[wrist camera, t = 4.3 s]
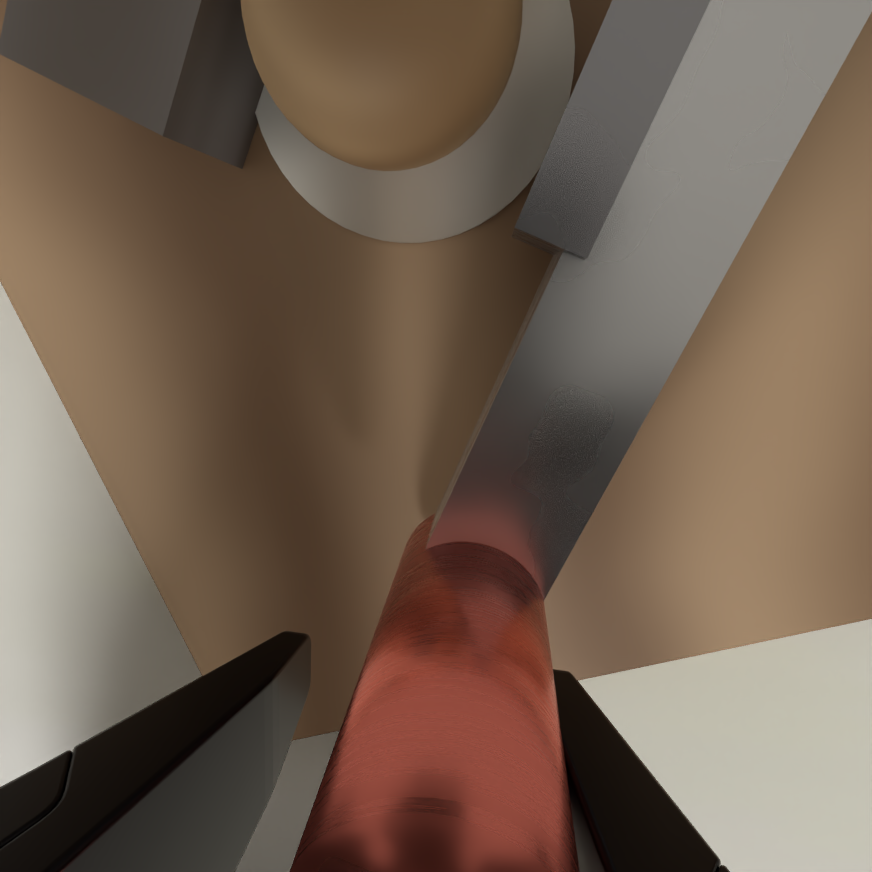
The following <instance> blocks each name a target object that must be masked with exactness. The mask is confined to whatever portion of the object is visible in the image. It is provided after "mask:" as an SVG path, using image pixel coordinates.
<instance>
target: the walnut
mask: <svg viewBox="0 0 872 872" xmlns="http://www.w3.org/2000/svg"><path fill="white" fill-rule="evenodd" d="M522 9H523V0H241V10H242V17H243V22H244V27H245V32H246V37H247V41H248V45H249V48H250V51H251V54H252V57H253V61H254V63H255V66H256V68H257V70H258V72H259V75H260V77H261V79H262V81H263V83H264V85H265V87H266V89H267V90H268V92H269V94H270V95H271V97H272V99H273V100H274V102H275V104H276V105H277V107H278V108H279V109H280V111H281V112H282V113H283V115H284V116H285V117H286V119H287V120H288V121H289V122H290V123H291V124H292V125H293V126H294V127H295V128H296V129H297V130H298V131H299V132H300V133H301V134H302V135H303V136H304V137H305V138H306V139H308V140H309V141H310V142H311V143H313V144H314V145H315V146H316V147H318V148H319V149H321V150H322V151H324V152H326V153H327V154H329V155H331V156H333V157H335V158H337V159H339V160H341V161H344V162H346V163H349V164H351V165H354V166H357V167H361V168H365V169H369V170H378V171H401V170H407V169H412V168H417V167H421V166H424V165H427V164H430V163H433V162H435V161H437V160H439V159H441V158H443V157H445V156H447V155H448V154H450V153H451V152H453V151H454V150H456V149H457V148H459V147H460V146H461V145H462V144H464V143H465V142H466V141H467V140H468V139H469V138H470V137H471V136H473V135H474V134H475V132H476V131H477V130H478V129H479V128H480V127H481V126H482V124H483V123H484V122H485V121H486V120H487V118H488V117H489V115H490V114H491V112H492V111H493V110H494V108H495V107H496V105H497V103H498V101H499V99H500V98H501V96H502V94H503V92H504V90H505V88H506V85H507V83H508V80H509V77H510V75H511V72H512V70H513V66H514V62H515V58H516V54H517V50H518V46H519V41H520V34H521V27H522Z"/></svg>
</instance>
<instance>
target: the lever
mask: <svg viewBox="0 0 872 872" xmlns="http://www.w3.org/2000/svg"><path fill="white" fill-rule="evenodd" d="M871 12H872V0H612V2H611V4H610V7H609V9H608V11H607V14H606V16H605V18H604V21H603V23H602V25H601V28H600V30H599V32H598V35H597V37H596V39H595V42H594V44H593V46H592V48H591V51H590V53H589V55H588V58H587V60H586V62H585V65H584V67H583V69H582V72H581V74H580V76H579V79H578V81H577V83H576V86H575V88H574V90H573V93H572V95H571V97H570V100H569V102H568V104H567V106H566V109H565V111H564V113H563V116H562V118H561V120H560V123H559V125H558V127H557V130H556V132H555V134H554V137H553V139H552V141H551V144H550V146H549V148H548V151H547V153H546V155H545V158H544V160H543V162H542V164H541V167H540V169H539V171H538V174H537V176H536V178H535V181H534V183H533V185H532V188H531V190H530V192H529V195H528V197H527V199H526V202H525V204H524V206H523V209H522V211H521V213H520V216H519V218H518V220H517V222H516V225H515V227H514V231H513V234H512V237H513V238H515V239H517V240H520V241H522V242H524V243H527V244H529V245H531V246H533V247H536V248H538V249H540V250H543V251H545V252H547V253H549V254H552V255H553V257H552V260H551V262H550V264H549V266H548V268H547V270H546V273H545V275H544V277H543V279H542V281H541V284H540V286H539V288H538V290H537V292H536V294H535V297H534V299H533V301H532V303H531V305H530V307H529V310H528V312H527V314H526V316H525V318H524V321H523V323H522V325H521V327H520V329H519V331H518V334H517V336H516V338H515V340H514V342H513V345H512V347H511V349H510V351H509V353H508V355H507V358H506V360H505V362H504V364H503V366H502V369H501V371H500V373H499V375H498V377H497V379H496V382H495V384H494V386H493V388H492V390H491V393H490V395H489V397H488V399H487V401H486V403H485V406H484V408H483V410H482V412H481V414H480V417H479V419H478V421H477V423H476V425H475V427H474V430H473V432H472V434H471V436H470V438H469V441H468V443H467V445H466V447H465V449H464V451H463V454H462V456H461V458H460V460H459V462H458V465H457V467H456V469H455V471H454V473H453V475H452V478H451V480H450V482H449V484H448V486H447V489H446V491H445V493H444V495H443V497H442V499H441V502H440V504H439V506H438V508H437V510H436V513H435V514H433V515H431V516H429V517H428V518H427V519H425V520H424V521H423V522H421V523H420V524H419V525H418V526H417V527H416V528H415V530H414V531H413V533H412V534H411V535H410V537H409V539H408V541H407V543H406V546H405V549H404V551H403V554H402V557H401V560H400V563H399V565H398V568H397V571H396V574H395V577H394V579H393V582H392V585H391V588H390V591H389V594H388V596H387V599H386V602H385V605H384V608H383V610H382V613H381V616H380V619H379V622H378V625H377V627H376V630H375V633H374V636H373V639H372V641H371V644H370V647H369V650H368V653H367V656H366V658H365V661H364V664H363V667H362V670H361V672H360V675H359V678H358V681H357V684H356V686H355V689H354V692H353V695H352V698H351V701H350V703H349V706H348V709H347V712H346V715H345V717H344V720H343V723H342V726H341V729H340V732H339V734H338V737H337V740H336V743H335V746H334V748H333V751H332V754H331V757H330V760H329V762H328V765H327V768H326V771H325V774H324V777H323V779H322V782H321V785H320V788H319V791H318V793H317V796H316V799H315V802H314V805H313V808H312V810H311V813H310V816H309V819H308V822H307V824H306V827H305V830H304V833H303V836H302V838H301V841H300V844H299V847H298V850H297V853H296V855H295V858H294V861H293V864H292V867H291V869H290V872H580V870H579V863H578V855H577V848H576V840H575V832H574V825H573V817H572V810H571V802H570V795H569V787H568V780H567V772H566V764H565V757H564V749H563V742H562V734H561V727H560V719H559V712H558V704H557V696H556V689H555V681H554V674H553V666H552V659H551V651H550V643H549V636H548V628H547V621H546V613H545V606H544V600H545V598H546V596H547V594H548V592H549V591H550V589H551V587H552V585H553V583H554V582H555V580H556V578H557V576H558V574H559V573H560V571H561V569H562V567H563V565H564V564H565V562H566V560H567V558H568V557H569V555H570V553H571V551H572V549H573V548H574V546H575V544H576V542H577V540H578V539H579V537H580V535H581V533H582V531H583V530H584V528H585V526H586V524H587V522H588V521H589V519H590V517H591V515H592V513H593V512H594V510H595V508H596V506H597V504H598V503H599V501H600V499H601V497H602V495H603V494H604V492H605V490H606V488H607V486H608V485H609V483H610V481H611V479H612V477H613V476H614V474H615V472H616V470H617V468H618V467H619V465H620V463H621V461H622V459H623V458H624V456H625V454H626V452H627V451H628V449H629V447H630V445H631V443H632V442H633V440H634V438H635V436H636V434H637V433H638V431H639V429H640V427H641V425H642V424H643V422H644V420H645V418H646V416H647V415H648V413H649V411H650V409H651V407H652V406H653V404H654V402H655V400H656V398H657V397H658V395H659V393H660V391H661V389H662V388H663V386H664V384H665V382H666V380H667V379H668V377H669V375H670V373H671V371H672V370H673V368H674V366H675V364H676V362H677V361H678V359H679V357H680V355H681V354H682V352H683V350H684V348H685V346H686V345H687V343H688V341H689V339H690V337H691V336H692V334H693V332H694V330H695V328H696V327H697V325H698V323H699V321H700V319H701V318H702V316H703V314H704V312H705V310H706V309H707V307H708V305H709V303H710V301H711V300H712V298H713V296H714V294H715V292H716V291H717V289H718V287H719V285H720V283H721V282H722V280H723V278H724V276H725V274H726V273H727V271H728V269H729V267H730V265H731V264H732V262H733V260H734V258H735V256H736V255H737V253H738V251H739V249H740V248H741V246H742V244H743V242H744V240H745V239H746V237H747V235H748V233H749V231H750V230H751V228H752V226H753V224H754V222H755V221H756V219H757V217H758V215H759V213H760V212H761V210H762V208H763V206H764V204H765V203H766V201H767V199H768V197H769V195H770V194H771V192H772V190H773V188H774V186H775V185H776V183H777V181H778V179H779V177H780V176H781V174H782V172H783V170H784V168H785V167H786V165H787V163H788V161H789V159H790V158H791V156H792V154H793V152H794V150H795V149H796V147H797V145H798V143H799V142H800V140H801V138H802V136H803V134H804V133H805V131H806V129H807V127H808V125H809V124H810V122H811V120H812V118H813V116H814V115H815V113H816V111H817V109H818V107H819V106H820V104H821V102H822V100H823V98H824V97H825V95H826V93H827V91H828V89H829V88H830V86H831V84H832V82H833V80H834V79H835V77H836V75H837V73H838V71H839V70H840V68H841V66H842V64H843V62H844V61H845V59H846V57H847V55H848V53H849V52H850V50H851V48H852V46H853V45H854V43H855V41H856V39H857V37H858V36H859V34H860V32H861V30H862V28H863V27H864V25H865V23H866V21H867V19H868V18H869V16H870V14H871Z"/></svg>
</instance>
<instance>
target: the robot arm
mask: <svg viewBox="0 0 872 872" xmlns="http://www.w3.org/2000/svg"><path fill="white" fill-rule="evenodd" d="M553 674H554V681H555V689H556V696H557V704H558V712H559V719H560V727H561V734H562V742H563V749H564V757H565V764H566V772H567V780H568V787H569V795H570V802H571V810H572V817H573V825H574V832H575V840H576V848H577V855H578V863H579V870H580V872H730V871H729V870H728V869H727V867H726V866H724V865H721V861H720V859H719V858H718V856H717V855H716V854H715V853H714V851H713V850H712V849H711V848H710V846H709V845H708V844H707V843H706V841H705V840H704V839H703V838H702V836H701V835H700V834H699V833H698V831H697V830H696V829H695V828H694V826H693V825H692V824H691V823H690V821H689V820H688V819H687V818H686V816H685V815H684V814H683V813H682V811H681V810H680V809H679V807H678V806H677V805H676V804H675V802H674V801H673V800H672V799H671V797H670V796H669V795H668V794H667V792H666V791H665V790H664V789H663V787H662V786H661V785H660V784H659V782H658V781H657V780H656V779H655V777H654V776H653V775H652V774H651V772H650V771H649V770H648V769H647V767H646V766H645V765H644V764H643V762H642V761H641V760H640V759H639V757H638V756H637V755H636V754H635V752H634V751H633V750H632V749H631V747H630V746H629V745H628V744H627V742H626V741H625V740H624V738H623V737H622V736H621V735H620V733H619V732H618V731H617V730H616V728H615V727H614V726H613V725H612V723H611V722H610V721H609V720H608V718H607V717H606V716H605V715H604V713H603V712H602V711H601V710H600V708H599V707H598V706H597V705H596V703H595V702H594V701H593V700H592V698H591V697H590V696H589V695H588V693H587V692H586V691H585V690H584V688H583V687H582V686H581V685H580V683H579V682H578V681H577V680H576V678H575V677H574V676H573V675H572V674H571V673H570V672H569V671H564V670H557V669H553ZM310 681H311V639H310V636H309V635H308V634H306V633H299V632H292V631H283V632H281V633H279V634H277V635H276V636H274V637H272V638H270V639H268V640H267V641H265V642H263V643H261V644H259V645H258V646H256V647H254V648H252V649H250V650H249V651H247V652H245V653H243V654H241V655H240V656H238V657H236V658H234V659H232V660H231V661H229V662H227V663H225V664H223V665H221V666H220V667H218V668H216V669H214V670H212V671H211V672H209V673H207V674H205V675H203V676H202V677H200V678H198V679H196V680H194V681H193V682H191V683H189V684H187V685H185V686H184V687H182V688H180V689H178V690H176V691H175V692H173V693H171V694H169V695H167V696H166V697H164V698H162V699H160V700H158V701H157V702H155V703H153V704H151V705H149V706H148V707H146V708H144V709H142V710H140V711H139V712H137V713H135V714H133V715H131V716H130V717H128V718H126V719H124V720H122V721H121V722H119V723H117V724H115V725H113V726H111V727H110V728H108V729H106V730H104V731H102V732H101V733H99V734H97V735H95V736H93V737H92V738H90V739H88V740H86V741H84V742H83V743H81V744H79V745H77V746H76V747H74V749H73V752H71V751H66V752H64V753H62V754H61V755H59V756H57V757H55V758H53V759H52V760H50V761H48V762H46V763H44V764H43V765H41V766H39V767H37V768H35V769H33V770H31V771H30V772H28V773H26V774H24V775H22V776H20V777H18V778H16V779H15V780H13V781H11V782H9V783H7V784H5V785H3V786H1V787H0V872H235V870H236V868H237V866H238V864H239V862H240V860H241V858H242V856H243V853H244V851H245V849H246V847H247V845H248V843H249V841H250V839H251V837H252V835H253V833H254V831H255V828H256V826H257V824H258V822H259V820H260V818H261V816H262V814H263V812H264V810H265V808H266V805H267V803H268V801H269V799H270V797H271V794H272V792H273V790H274V787H275V784H276V782H277V779H278V777H279V774H280V771H281V768H282V766H283V763H284V760H285V757H286V754H287V752H288V749H289V746H290V743H291V740H292V738H293V735H294V732H295V729H296V726H297V724H298V721H299V718H300V715H301V712H302V710H303V707H304V704H305V701H306V698H307V696H308V692H309V688H310ZM720 865H721V866H720Z"/></svg>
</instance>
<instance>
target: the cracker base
mask: <svg viewBox="0 0 872 872" xmlns="http://www.w3.org/2000/svg"><path fill="white" fill-rule="evenodd" d="M611 2H612V0H523V9H522V27H521V34H520V41H519V46H518V50H517V54H516V58H515V62H514V66H513V70H512V72H511V75H510V77H509V80H508V83H507V85H506V88H505V90H504V92H503V94H502V96H501V98H500V99H499V101H498V103H497V105H496V107H495V108H494V110H493V111H492V112H491V114H490V115H489V117H488V118H487V120H486V121H485V122H484V123H483V124H482V126H481V127H480V128H479V129H478V130H477V131H476V132H475V134H474V135H473V136H471V137H470V138H469V139H468V140H467V141H466V142H465V143H464V144H462V145H461V146H460V147H459V148H457V149H456V150H454V151H453V152H451V153H450V154H448V155H447V156H445V157H443V158H441V159H439V160H437V161H435V162H433V163H430V164H427V165H424V166H421V167H417V168H412V169H407V170H401V171H378V170H369V169H365V168H361V167H357V166H354V165H351V164H349V163H346V162H344V161H341V160H339V159H337V158H335V157H333V156H331V155H329V154H327V153H326V152H324V151H322V150H321V149H319V148H318V147H316V146H315V145H314V144H313V143H311V142H310V141H309V140H308V139H306V138H305V137H304V136H303V135H302V134H301V133H300V132H299V131H298V130H297V129H296V128H295V127H294V126H293V125H292V124H291V123H290V122H289V121H288V120H287V119H286V117H285V116H284V115H283V113H282V112H281V111H280V109H279V108H278V107H277V105H276V104H275V102H274V100H273V99H272V97H271V95H270V94H269V92H268V90H267V89H266V87H265V85H264V83H263V81H262V79H261V77H260V75H259V72H258V70H257V68H256V66H255V63H254V61H253V57H252V54H251V51H250V48H249V45H248V41H247V37H246V32H245V27H244V22H243V17H242V10H241V0H0V282H1V284H2V285H3V287H4V289H5V291H6V293H7V295H8V297H9V299H10V301H11V303H12V305H13V307H14V309H15V311H16V313H17V315H18V317H19V319H20V321H21V323H22V325H23V326H24V328H25V330H26V332H27V334H28V336H29V338H30V340H31V342H32V344H33V346H34V348H35V350H36V352H37V354H38V356H39V358H40V360H41V362H42V364H43V366H44V367H45V369H46V371H47V373H48V375H49V377H50V379H51V381H52V383H53V385H54V387H55V389H56V391H57V393H58V395H59V397H60V399H61V401H62V403H63V405H64V407H65V408H66V410H67V412H68V414H69V416H70V418H71V420H72V422H73V424H74V426H75V428H76V430H77V432H78V434H79V436H80V438H81V440H82V442H83V444H84V446H85V448H86V449H87V451H88V453H89V455H90V457H91V459H92V461H93V463H94V465H95V467H96V469H97V471H98V473H99V475H100V477H101V479H102V481H103V483H104V485H105V487H106V488H107V490H108V492H109V494H110V496H111V498H112V500H113V502H114V504H115V506H116V508H117V510H118V512H119V514H120V516H121V518H122V520H123V522H124V524H125V526H126V528H127V529H128V531H129V533H130V535H131V537H132V539H133V541H134V543H135V545H136V547H137V549H138V551H139V553H140V555H141V557H142V559H143V561H144V563H145V565H146V567H147V569H148V570H149V572H150V574H151V576H152V578H153V580H154V582H155V584H156V586H157V588H158V590H159V592H160V594H161V596H162V598H163V600H164V602H165V604H166V606H167V608H168V610H169V611H170V613H171V615H172V617H173V619H174V621H175V623H176V625H177V627H178V629H179V631H180V633H181V635H182V637H183V639H184V641H185V643H186V645H187V647H188V649H189V651H190V652H191V654H192V656H193V658H194V660H195V662H196V664H197V666H198V668H199V670H200V672H201V674H202V676H203V675H205V674H207V673H209V672H211V671H212V670H214V669H216V668H218V667H220V666H221V665H223V664H225V663H227V662H229V661H231V660H232V659H234V658H236V657H238V656H240V655H241V654H243V653H245V652H247V651H249V650H250V649H252V648H254V647H256V646H258V645H259V644H261V643H263V642H265V641H267V640H268V639H270V638H272V637H274V636H276V635H277V634H279V633H281V632H283V631H292V632H299V633H306V634H308V635H309V636H310V639H311V681H310V688H309V692H308V696H307V698H306V701H305V704H304V707H303V710H302V712H301V715H300V718H299V721H298V724H297V726H296V729H295V732H294V735H293V738H292V740H297V739H302V738H306V737H311V736H316V735H321V734H325V733H330V732H335V731H340V729H341V726H342V723H343V720H344V717H345V715H346V712H347V709H348V706H349V703H350V701H351V698H352V695H353V692H354V689H355V686H356V684H357V681H358V678H359V675H360V672H361V670H362V667H363V664H364V661H365V658H366V656H367V653H368V650H369V647H370V644H371V641H372V639H373V636H374V633H375V630H376V627H377V625H378V622H379V619H380V616H381V613H382V610H383V608H384V605H385V602H386V599H387V596H388V594H389V591H390V588H391V585H392V582H393V579H394V577H395V574H396V571H397V568H398V565H399V563H400V560H401V557H402V554H403V551H404V549H405V546H406V543H407V541H408V539H409V537H410V535H411V534H412V533H413V531H414V530H415V528H416V527H417V526H418V525H419V524H420V523H421V522H423V521H424V520H425V519H427V518H428V517H429V516H431V515H433V514H435V513H436V510H437V508H438V506H439V504H440V502H441V499H442V497H443V495H444V493H445V491H446V489H447V486H448V484H449V482H450V480H451V478H452V475H453V473H454V471H455V469H456V467H457V465H458V462H459V460H460V458H461V456H462V454H463V451H464V449H465V447H466V445H467V443H468V441H469V438H470V436H471V434H472V432H473V430H474V427H475V425H476V423H477V421H478V419H479V417H480V414H481V412H482V410H483V408H484V406H485V403H486V401H487V399H488V397H489V395H490V393H491V390H492V388H493V386H494V384H495V382H496V379H497V377H498V375H499V373H500V371H501V369H502V366H503V364H504V362H505V360H506V358H507V355H508V353H509V351H510V349H511V347H512V345H513V342H514V340H515V338H516V336H517V334H518V331H519V329H520V327H521V325H522V323H523V321H524V318H525V316H526V314H527V312H528V310H529V307H530V305H531V303H532V301H533V299H534V297H535V294H536V292H537V290H538V288H539V286H540V284H541V281H542V279H543V277H544V275H545V273H546V270H547V268H548V266H549V264H550V262H551V260H552V257H553V255H552V254H549V253H547V252H545V251H543V250H540V249H538V248H536V247H533V246H531V245H529V244H527V243H524V242H522V241H520V240H517V239H515V238H513V237H512V234H513V231H514V227H515V225H516V222H517V220H518V218H519V216H520V213H521V211H522V209H523V206H524V204H525V202H526V199H527V197H528V195H529V192H530V190H531V188H532V185H533V183H534V181H535V178H536V176H537V174H538V171H539V169H540V167H541V164H542V162H543V160H544V158H545V155H546V153H547V151H548V148H549V146H550V144H551V141H552V139H553V137H554V134H555V132H556V130H557V127H558V125H559V123H560V120H561V118H562V116H563V113H564V111H565V109H566V106H567V104H568V102H569V100H570V97H571V95H572V93H573V90H574V88H575V86H576V83H577V81H578V79H579V76H580V74H581V72H582V69H583V67H584V65H585V62H586V60H587V58H588V55H589V53H590V51H591V48H592V46H593V44H594V42H595V39H596V37H597V35H598V32H599V30H600V28H601V25H602V23H603V21H604V18H605V16H606V14H607V11H608V9H609V7H610V4H611ZM544 606H545V613H546V621H547V628H548V636H549V643H550V651H551V659H552V666H553V669H557V670H564V671H569V672H570V673H571V674H572V675H573V676H574V677H575V678H576V680H577V681H578V680H582V679H587V678H592V677H597V676H601V675H606V674H611V673H616V672H620V671H625V670H630V669H635V668H640V667H644V666H649V665H654V664H659V663H663V662H668V661H673V660H678V659H682V658H687V657H692V656H697V655H701V654H706V653H711V652H716V651H720V650H725V649H730V648H735V647H739V646H744V645H749V644H754V643H759V642H763V641H768V640H773V639H778V638H782V637H787V636H792V635H797V634H801V633H806V632H811V631H816V630H820V629H825V628H830V627H835V626H839V625H844V624H849V623H854V622H858V621H863V620H868V619H872V12H871V14H870V16H869V18H868V19H867V21H866V23H865V25H864V27H863V28H862V30H861V32H860V34H859V36H858V37H857V39H856V41H855V43H854V45H853V46H852V48H851V50H850V52H849V53H848V55H847V57H846V59H845V61H844V62H843V64H842V66H841V68H840V70H839V71H838V73H837V75H836V77H835V79H834V80H833V82H832V84H831V86H830V88H829V89H828V91H827V93H826V95H825V97H824V98H823V100H822V102H821V104H820V106H819V107H818V109H817V111H816V113H815V115H814V116H813V118H812V120H811V122H810V124H809V125H808V127H807V129H806V131H805V133H804V134H803V136H802V138H801V140H800V142H799V143H798V145H797V147H796V149H795V150H794V152H793V154H792V156H791V158H790V159H789V161H788V163H787V165H786V167H785V168H784V170H783V172H782V174H781V176H780V177H779V179H778V181H777V183H776V185H775V186H774V188H773V190H772V192H771V194H770V195H769V197H768V199H767V201H766V203H765V204H764V206H763V208H762V210H761V212H760V213H759V215H758V217H757V219H756V221H755V222H754V224H753V226H752V228H751V230H750V231H749V233H748V235H747V237H746V239H745V240H744V242H743V244H742V246H741V248H740V249H739V251H738V253H737V255H736V256H735V258H734V260H733V262H732V264H731V265H730V267H729V269H728V271H727V273H726V274H725V276H724V278H723V280H722V282H721V283H720V285H719V287H718V289H717V291H716V292H715V294H714V296H713V298H712V300H711V301H710V303H709V305H708V307H707V309H706V310H705V312H704V314H703V316H702V318H701V319H700V321H699V323H698V325H697V327H696V328H695V330H694V332H693V334H692V336H691V337H690V339H689V341H688V343H687V345H686V346H685V348H684V350H683V352H682V354H681V355H680V357H679V359H678V361H677V362H676V364H675V366H674V368H673V370H672V371H671V373H670V375H669V377H668V379H667V380H666V382H665V384H664V386H663V388H662V389H661V391H660V393H659V395H658V397H657V398H656V400H655V402H654V404H653V406H652V407H651V409H650V411H649V413H648V415H647V416H646V418H645V420H644V422H643V424H642V425H641V427H640V429H639V431H638V433H637V434H636V436H635V438H634V440H633V442H632V443H631V445H630V447H629V449H628V451H627V452H626V454H625V456H624V458H623V459H622V461H621V463H620V465H619V467H618V468H617V470H616V472H615V474H614V476H613V477H612V479H611V481H610V483H609V485H608V486H607V488H606V490H605V492H604V494H603V495H602V497H601V499H600V501H599V503H598V504H597V506H596V508H595V510H594V512H593V513H592V515H591V517H590V519H589V521H588V522H587V524H586V526H585V528H584V530H583V531H582V533H581V535H580V537H579V539H578V540H577V542H576V544H575V546H574V548H573V549H572V551H571V553H570V555H569V557H568V558H567V560H566V562H565V564H564V565H563V567H562V569H561V571H560V573H559V574H558V576H557V578H556V580H555V582H554V583H553V585H552V587H551V589H550V591H549V592H548V594H547V596H546V598H545V600H544ZM292 740H291V741H292Z"/></svg>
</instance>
